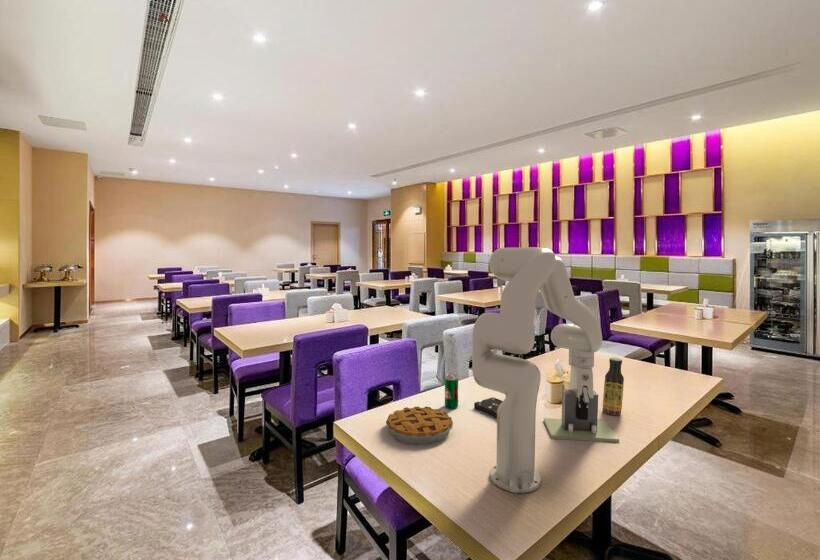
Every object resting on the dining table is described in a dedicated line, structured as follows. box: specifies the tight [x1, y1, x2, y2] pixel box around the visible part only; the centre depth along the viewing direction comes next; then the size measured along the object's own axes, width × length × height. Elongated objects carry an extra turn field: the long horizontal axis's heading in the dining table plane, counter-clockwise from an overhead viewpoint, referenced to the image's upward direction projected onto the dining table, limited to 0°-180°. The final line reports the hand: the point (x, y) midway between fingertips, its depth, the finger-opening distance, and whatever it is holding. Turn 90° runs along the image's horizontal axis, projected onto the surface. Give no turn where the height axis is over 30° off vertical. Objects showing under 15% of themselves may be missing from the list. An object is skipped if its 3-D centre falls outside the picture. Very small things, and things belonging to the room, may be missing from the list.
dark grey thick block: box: [561, 388, 599, 432], centre depth 130 cm, size 4×10×12 cm, turn 82°
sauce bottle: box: [602, 357, 625, 416], centre depth 145 cm, size 7×6×20 cm
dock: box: [543, 417, 620, 443], centre depth 131 cm, size 13×20×4 cm, turn 82°
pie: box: [385, 406, 454, 445], centre depth 132 cm, size 22×22×5 cm
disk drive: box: [473, 396, 504, 419], centre depth 147 cm, size 10×3×15 cm
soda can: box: [444, 373, 459, 410], centre depth 151 cm, size 5×5×12 cm
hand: (579, 415), depth 131 cm, fingers open, 5 cm apart
